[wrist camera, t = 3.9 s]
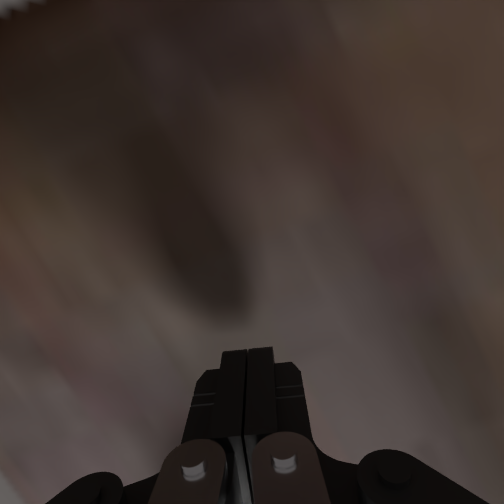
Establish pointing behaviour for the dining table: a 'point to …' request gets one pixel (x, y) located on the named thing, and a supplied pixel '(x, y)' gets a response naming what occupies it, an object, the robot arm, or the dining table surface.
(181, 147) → the dining table surface
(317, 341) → the dining table surface
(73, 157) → the dining table surface
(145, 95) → the dining table surface
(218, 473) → the robot arm
